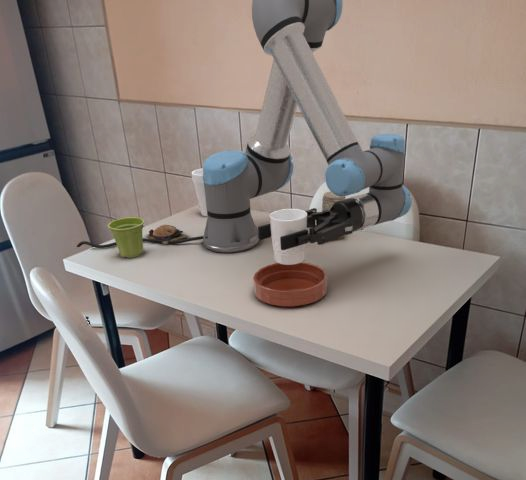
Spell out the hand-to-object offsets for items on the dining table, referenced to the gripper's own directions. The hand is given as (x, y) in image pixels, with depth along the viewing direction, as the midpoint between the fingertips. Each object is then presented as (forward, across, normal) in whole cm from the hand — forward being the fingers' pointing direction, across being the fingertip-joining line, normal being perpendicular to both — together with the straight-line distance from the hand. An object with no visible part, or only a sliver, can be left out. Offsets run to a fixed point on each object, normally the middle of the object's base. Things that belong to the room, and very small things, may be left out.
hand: (270, 238), depth 119 cm
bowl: (-5, 0, -14) cm, 15 cm away
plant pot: (+14, +47, -14) cm, 51 cm away
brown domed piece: (+1, +52, -14) cm, 54 cm away
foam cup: (-19, +63, -14) cm, 67 cm away
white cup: (-5, 0, -6) cm, 8 cm away
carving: (-35, +21, -14) cm, 43 cm away
